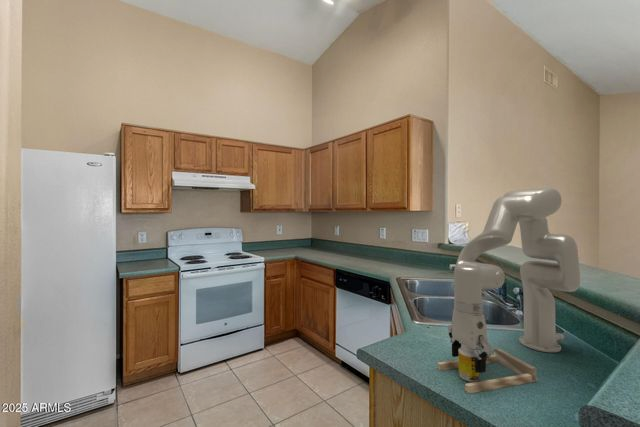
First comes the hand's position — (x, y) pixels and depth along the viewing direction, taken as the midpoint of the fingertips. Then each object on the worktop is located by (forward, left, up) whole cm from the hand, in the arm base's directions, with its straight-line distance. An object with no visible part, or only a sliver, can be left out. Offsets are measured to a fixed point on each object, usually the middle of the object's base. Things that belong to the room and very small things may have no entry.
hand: (468, 363), depth 87 cm
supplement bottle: (0, 0, -5) cm, 5 cm away
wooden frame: (-6, 0, -4) cm, 8 cm away
